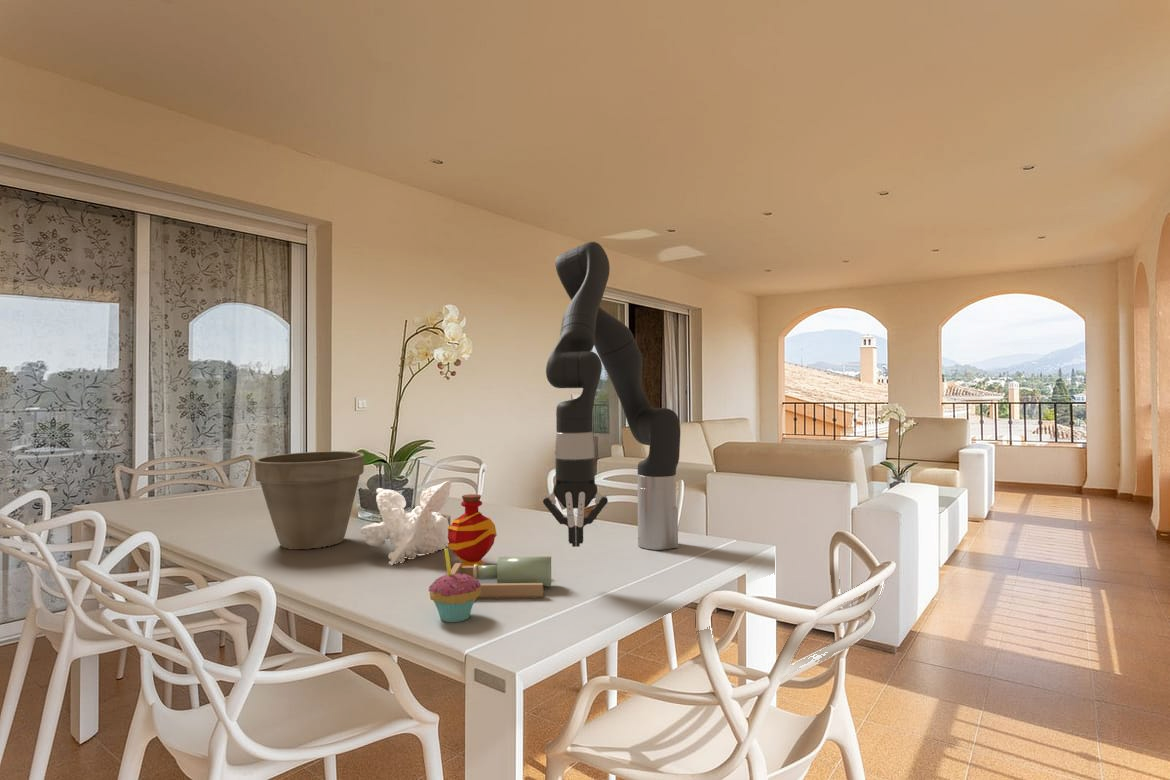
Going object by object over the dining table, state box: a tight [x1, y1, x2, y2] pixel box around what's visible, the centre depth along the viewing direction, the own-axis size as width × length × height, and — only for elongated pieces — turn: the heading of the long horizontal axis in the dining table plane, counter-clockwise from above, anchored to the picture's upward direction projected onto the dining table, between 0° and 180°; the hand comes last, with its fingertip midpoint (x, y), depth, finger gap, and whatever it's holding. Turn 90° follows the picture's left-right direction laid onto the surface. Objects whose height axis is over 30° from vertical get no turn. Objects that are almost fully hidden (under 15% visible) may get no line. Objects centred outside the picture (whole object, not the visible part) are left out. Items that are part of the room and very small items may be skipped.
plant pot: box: [254, 450, 365, 550], centre depth 161 cm, size 25×25×22 cm
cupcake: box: [428, 544, 482, 623], centre depth 108 cm, size 9×8×12 cm
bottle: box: [473, 555, 552, 587], centre depth 124 cm, size 5×5×15 cm
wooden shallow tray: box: [451, 562, 545, 600], centre depth 124 cm, size 18×13×3 cm
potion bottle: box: [447, 493, 498, 566], centre depth 140 cm, size 10×10×15 cm
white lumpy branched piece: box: [359, 480, 452, 565], centre depth 150 cm, size 19×20×20 cm
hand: (575, 545), depth 125 cm, fingers closed
